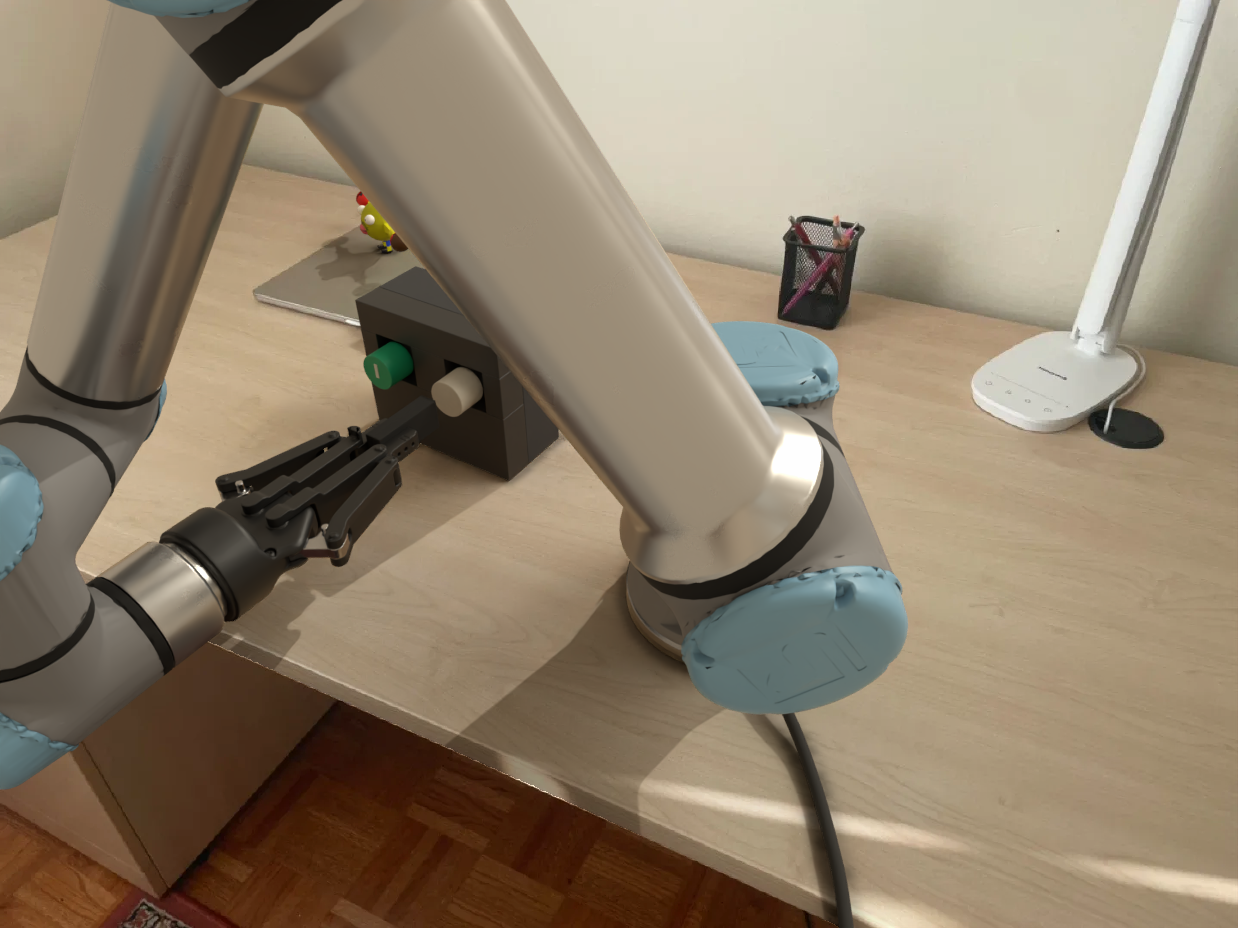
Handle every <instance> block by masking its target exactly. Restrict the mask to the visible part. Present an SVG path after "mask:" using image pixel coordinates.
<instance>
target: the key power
mask: <svg viewBox="0 0 1238 928" xmlns="http://www.w3.org/2000/svg"><path fill="white" fill-rule="evenodd" d="M362 363H363V370H364V373H365V375H366V377H367V378H368V380H369V381H370V382H371V384H372V383H373V384H374V385H375V386H377V387H378V388H381V389H389V388H391V387H392V386H393V385H395V384H396V383H398V382H399V381H401V380H402V379H404V378H405V377H407V376H408V375H410V374H411V373H412V372H413V369H414V364H413V360H412V357H411V355H410V354H409V352H408V351H407V350H406V348H405V347H403V346H402V345H401V344H399V343H397V342H389V343H387V344H386V345H384V346H382V347H381V348H379V349H378V350H376V351H374V352H373V353H371V354H370V355H368V356H367V357H366V356H365V358H364V359H363V361H362Z"/></svg>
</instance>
